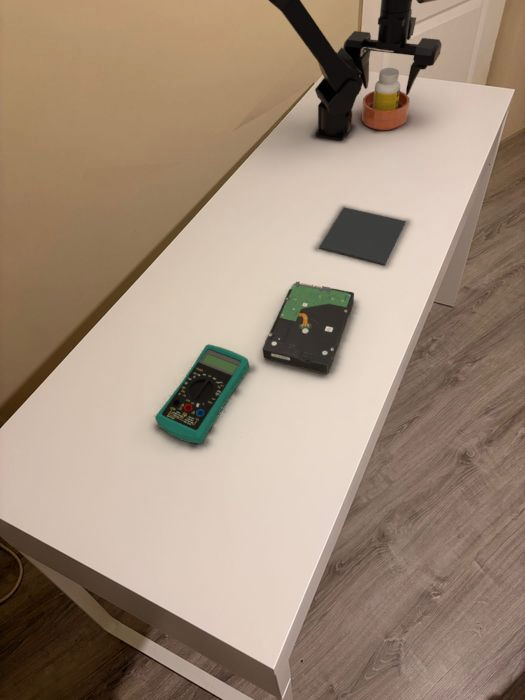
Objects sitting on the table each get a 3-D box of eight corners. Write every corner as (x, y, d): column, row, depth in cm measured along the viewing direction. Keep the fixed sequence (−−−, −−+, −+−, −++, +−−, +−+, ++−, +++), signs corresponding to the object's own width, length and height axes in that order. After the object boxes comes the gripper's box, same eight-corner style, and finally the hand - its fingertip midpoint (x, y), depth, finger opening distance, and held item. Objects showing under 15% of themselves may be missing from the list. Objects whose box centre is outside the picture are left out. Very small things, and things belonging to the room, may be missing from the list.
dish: (355, 127, 111) (356, 107, 108) (370, 106, 116) (371, 86, 113) (398, 134, 108) (401, 114, 104) (412, 112, 113) (415, 92, 110)
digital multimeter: (155, 429, 69) (149, 419, 67) (210, 351, 77) (207, 339, 74) (199, 450, 67) (195, 440, 64) (251, 367, 74) (249, 355, 72)
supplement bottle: (398, 122, 110) (404, 76, 102) (373, 124, 110) (377, 79, 103) (394, 110, 113) (400, 65, 105) (370, 112, 114) (374, 67, 106)
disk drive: (329, 376, 72) (354, 302, 80) (330, 365, 70) (355, 290, 78) (263, 360, 75) (292, 290, 83) (261, 349, 73) (292, 278, 80)
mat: (319, 248, 88) (319, 246, 88) (343, 208, 94) (343, 207, 94) (384, 265, 84) (384, 263, 84) (405, 222, 90) (405, 221, 90)
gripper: (455, -5, 96) (439, 79, 108) (363, -11, 102) (358, 69, 114) (440, 18, 90) (425, 104, 102) (343, 10, 96) (340, 91, 109)
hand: (386, 90), depth 107 cm, fingers open, 9 cm apart
